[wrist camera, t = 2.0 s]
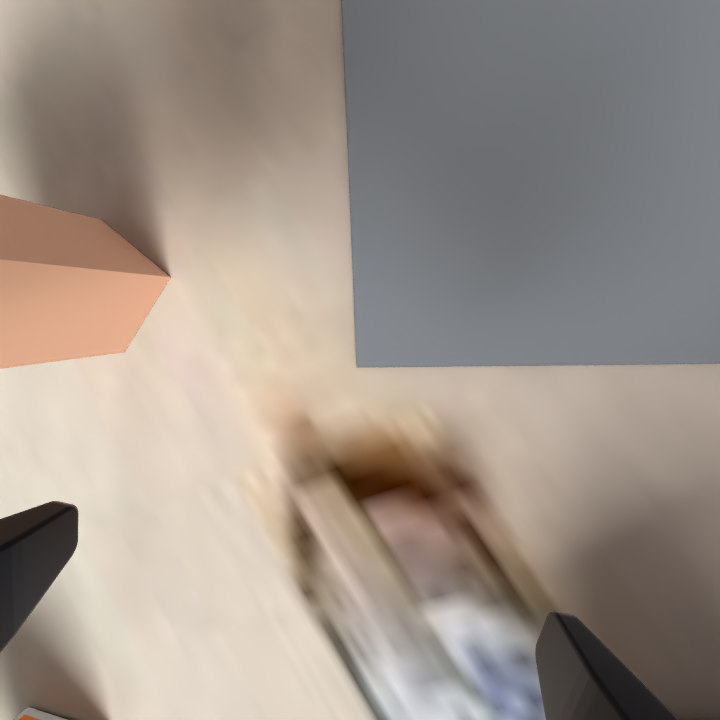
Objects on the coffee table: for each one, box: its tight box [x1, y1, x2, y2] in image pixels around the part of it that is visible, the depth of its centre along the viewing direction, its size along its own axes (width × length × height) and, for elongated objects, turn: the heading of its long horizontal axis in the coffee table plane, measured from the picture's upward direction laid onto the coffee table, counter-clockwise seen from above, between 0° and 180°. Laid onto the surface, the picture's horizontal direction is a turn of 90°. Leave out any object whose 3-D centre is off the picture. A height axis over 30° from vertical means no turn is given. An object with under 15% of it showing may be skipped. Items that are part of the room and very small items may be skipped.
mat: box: [342, 0, 720, 368], centre depth 16 cm, size 16×20×1 cm
